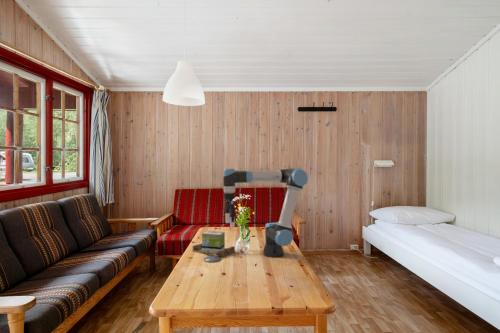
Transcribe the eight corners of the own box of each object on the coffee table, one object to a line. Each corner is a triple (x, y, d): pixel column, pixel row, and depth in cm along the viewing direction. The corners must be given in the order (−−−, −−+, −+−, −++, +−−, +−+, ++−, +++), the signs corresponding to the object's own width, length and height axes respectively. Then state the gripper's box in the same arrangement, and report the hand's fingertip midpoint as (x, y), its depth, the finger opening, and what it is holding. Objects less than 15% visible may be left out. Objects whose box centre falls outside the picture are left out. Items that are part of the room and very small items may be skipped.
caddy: (209, 245, 252) (209, 241, 252) (234, 251, 235) (234, 246, 235) (192, 251, 238) (192, 245, 238) (217, 257, 221) (217, 252, 221)
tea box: (201, 253, 233) (201, 233, 233) (206, 249, 243) (206, 230, 243) (220, 254, 230) (220, 234, 229) (225, 250, 240) (224, 231, 239)
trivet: (212, 255, 226) (212, 254, 226) (224, 259, 218) (224, 257, 218) (200, 260, 216) (200, 259, 216) (212, 263, 209) (212, 262, 209)
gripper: (219, 190, 213) (220, 221, 214) (228, 194, 189) (228, 229, 190) (230, 190, 215) (231, 220, 216) (239, 194, 192) (240, 228, 192)
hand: (230, 224), depth 203 cm, fingers open, 13 cm apart
